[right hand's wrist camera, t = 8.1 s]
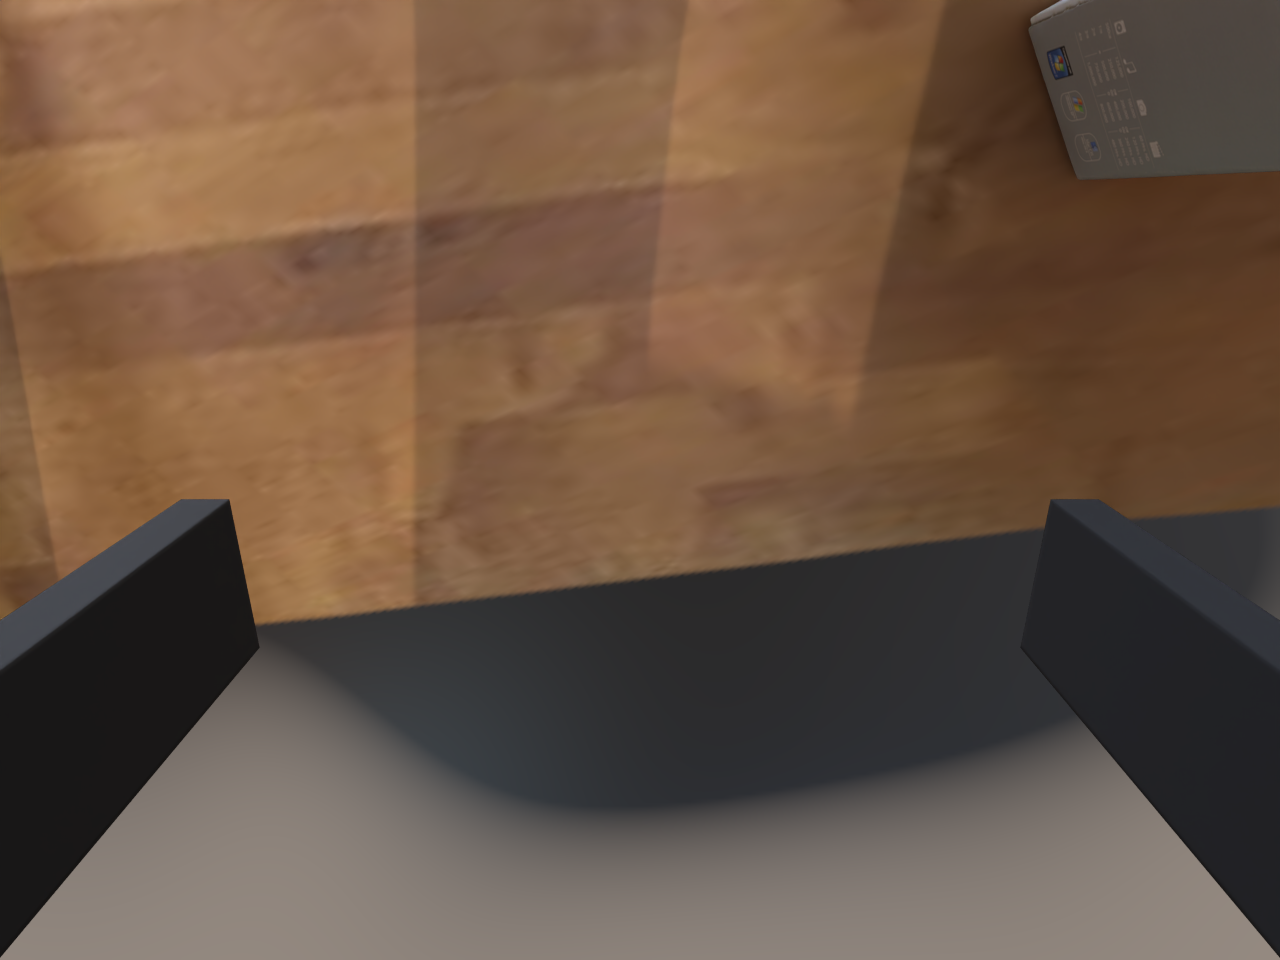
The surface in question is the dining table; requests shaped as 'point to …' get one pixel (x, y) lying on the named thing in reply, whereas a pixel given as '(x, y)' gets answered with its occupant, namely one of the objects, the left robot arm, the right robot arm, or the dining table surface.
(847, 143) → the dining table surface
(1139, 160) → the hard drive box
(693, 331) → the dining table surface
